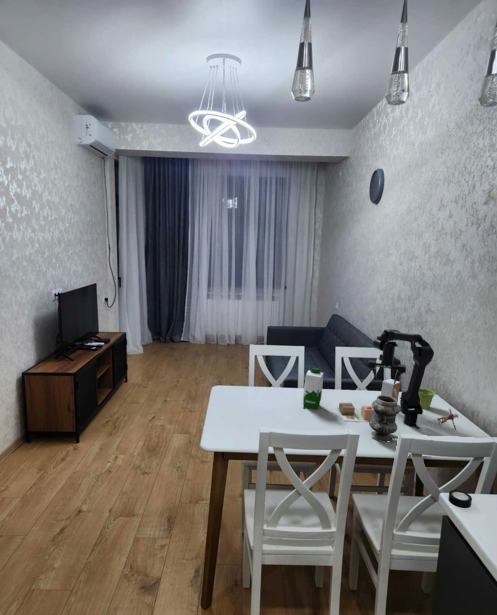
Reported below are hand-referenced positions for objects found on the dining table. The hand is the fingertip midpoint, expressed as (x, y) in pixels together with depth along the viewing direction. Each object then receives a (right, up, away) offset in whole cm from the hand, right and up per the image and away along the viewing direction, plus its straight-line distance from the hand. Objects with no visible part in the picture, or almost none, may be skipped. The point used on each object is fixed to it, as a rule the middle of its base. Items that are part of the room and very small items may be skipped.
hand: (384, 382), depth 219 cm
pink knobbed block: (-14, -14, -15) cm, 25 cm away
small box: (+4, -13, +6) cm, 15 cm away
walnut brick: (-23, -13, -11) cm, 29 cm away
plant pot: (+23, -15, +7) cm, 28 cm away
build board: (-19, -14, -13) cm, 27 cm away
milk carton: (-39, -12, -6) cm, 42 cm away
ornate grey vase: (-12, -19, -33) cm, 40 cm away
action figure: (+22, -19, -20) cm, 35 cm away
